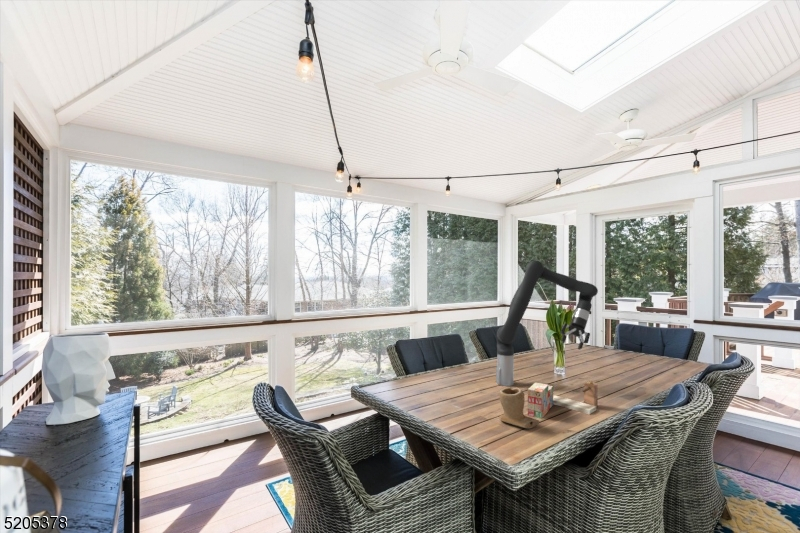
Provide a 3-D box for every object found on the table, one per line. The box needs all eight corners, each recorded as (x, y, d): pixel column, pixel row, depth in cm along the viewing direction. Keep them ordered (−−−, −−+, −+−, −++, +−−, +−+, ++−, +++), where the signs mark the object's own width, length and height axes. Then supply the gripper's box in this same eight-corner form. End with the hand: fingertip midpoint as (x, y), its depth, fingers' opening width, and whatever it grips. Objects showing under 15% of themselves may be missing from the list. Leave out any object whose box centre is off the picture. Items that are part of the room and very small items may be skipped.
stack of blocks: (540, 402, 182) (540, 377, 182) (553, 405, 178) (553, 380, 178) (527, 415, 164) (527, 388, 164) (541, 419, 161) (541, 391, 161)
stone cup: (493, 422, 156) (493, 387, 156) (508, 415, 164) (508, 382, 164) (525, 434, 145) (525, 396, 145) (539, 426, 153) (540, 390, 153)
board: (547, 402, 181) (547, 398, 181) (554, 398, 186) (554, 395, 186) (589, 414, 166) (589, 410, 166) (596, 410, 171) (596, 406, 171)
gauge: (587, 404, 179) (587, 379, 179) (597, 406, 176) (597, 381, 176) (579, 409, 172) (579, 384, 172) (588, 412, 169) (589, 386, 169)
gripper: (569, 312, 196) (560, 339, 193) (596, 322, 194) (587, 351, 190) (564, 314, 203) (555, 341, 200) (590, 324, 201) (581, 351, 197)
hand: (571, 345), depth 195 cm, fingers open, 8 cm apart
